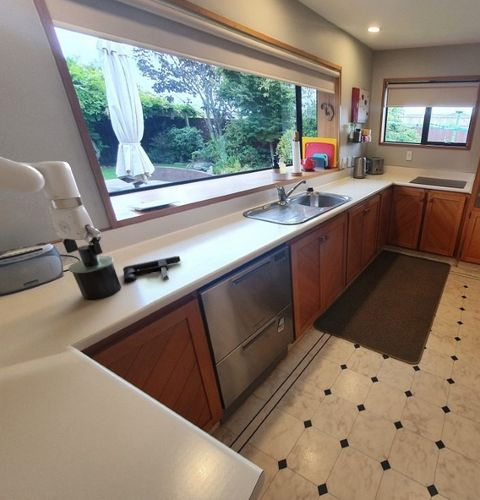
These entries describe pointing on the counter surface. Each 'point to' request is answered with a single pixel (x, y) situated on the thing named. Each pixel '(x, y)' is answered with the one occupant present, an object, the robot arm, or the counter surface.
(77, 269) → the lid
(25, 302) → the counter surface
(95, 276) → the canister
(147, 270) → the door handle
